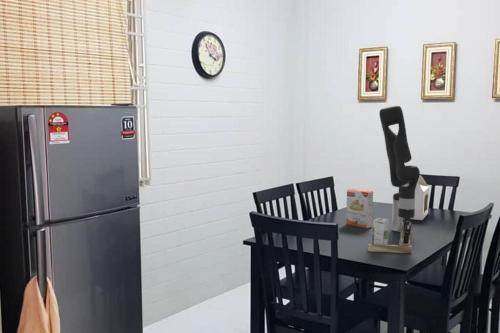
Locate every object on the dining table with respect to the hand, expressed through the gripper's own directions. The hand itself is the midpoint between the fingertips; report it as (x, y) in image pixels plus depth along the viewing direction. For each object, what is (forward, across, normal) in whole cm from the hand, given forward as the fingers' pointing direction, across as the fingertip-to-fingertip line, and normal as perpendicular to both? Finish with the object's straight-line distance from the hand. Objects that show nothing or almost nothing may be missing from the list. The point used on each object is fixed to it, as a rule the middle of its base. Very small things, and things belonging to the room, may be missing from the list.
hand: (405, 242), depth 242 cm
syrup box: (+3, +2, -12) cm, 13 cm away
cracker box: (+3, -44, -18) cm, 48 cm away
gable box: (+3, -77, +19) cm, 79 cm away
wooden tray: (+3, 0, -8) cm, 9 cm away
